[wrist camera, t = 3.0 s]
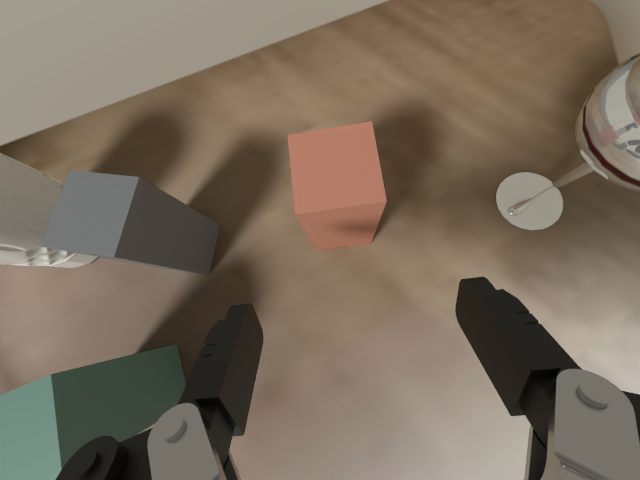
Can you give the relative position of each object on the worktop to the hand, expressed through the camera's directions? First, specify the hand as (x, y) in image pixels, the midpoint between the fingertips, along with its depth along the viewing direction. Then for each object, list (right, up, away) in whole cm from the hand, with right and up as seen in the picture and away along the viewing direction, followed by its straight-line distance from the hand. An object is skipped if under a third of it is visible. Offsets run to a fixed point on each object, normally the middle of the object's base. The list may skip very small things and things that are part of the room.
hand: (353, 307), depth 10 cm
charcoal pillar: (-13, +2, +13) cm, 19 cm away
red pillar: (0, +4, +12) cm, 13 cm away
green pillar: (-14, -9, +11) cm, 20 cm away
